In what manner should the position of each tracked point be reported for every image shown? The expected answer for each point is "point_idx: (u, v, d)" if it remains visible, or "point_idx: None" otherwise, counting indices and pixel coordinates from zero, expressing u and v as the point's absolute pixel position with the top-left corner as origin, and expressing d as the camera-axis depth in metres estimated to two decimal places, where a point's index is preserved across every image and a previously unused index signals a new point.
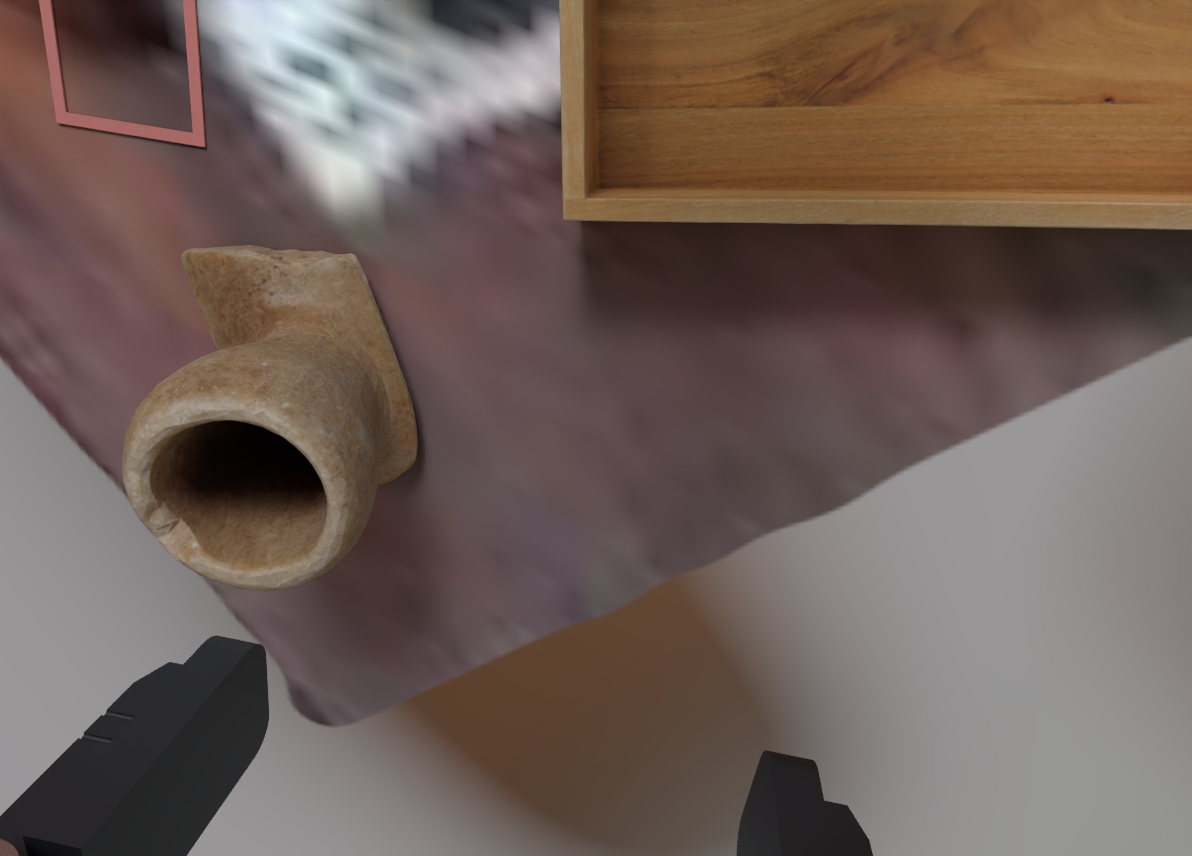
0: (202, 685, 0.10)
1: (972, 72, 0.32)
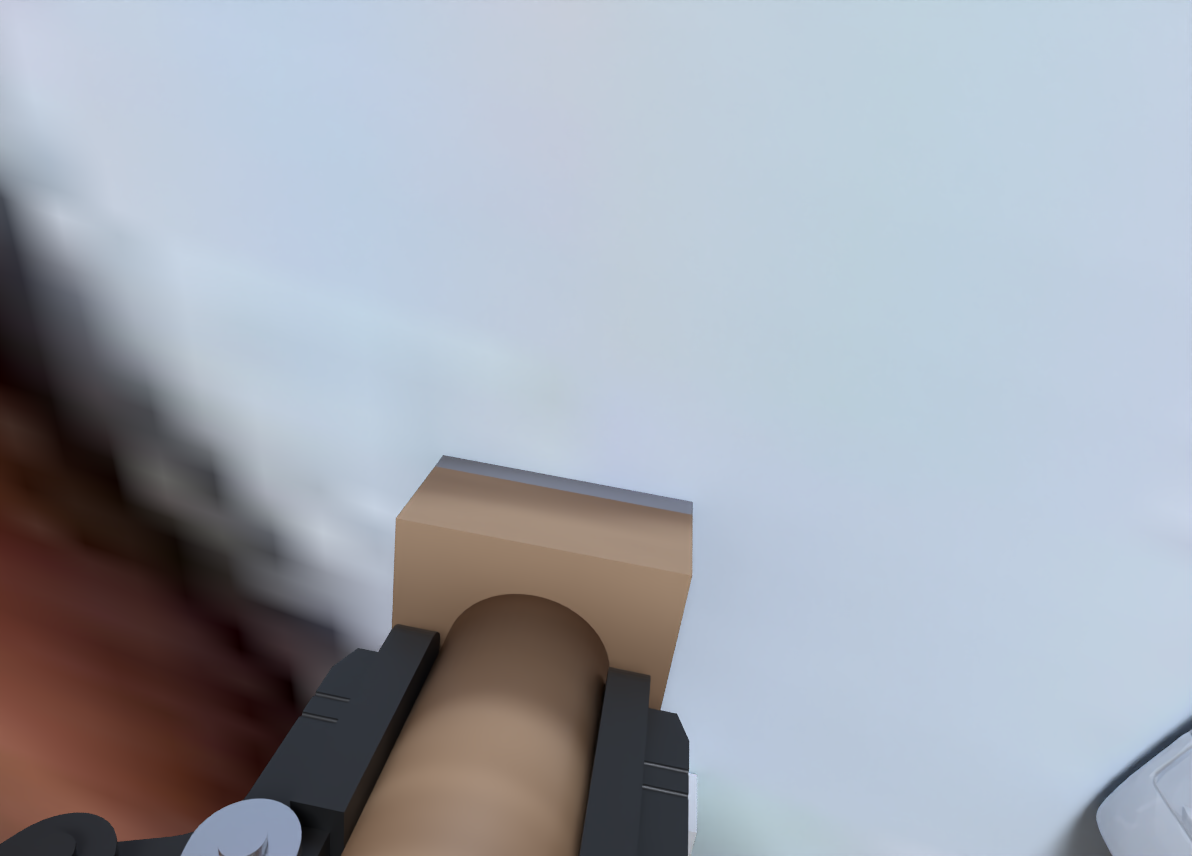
0: (402, 668, 0.11)
1: None
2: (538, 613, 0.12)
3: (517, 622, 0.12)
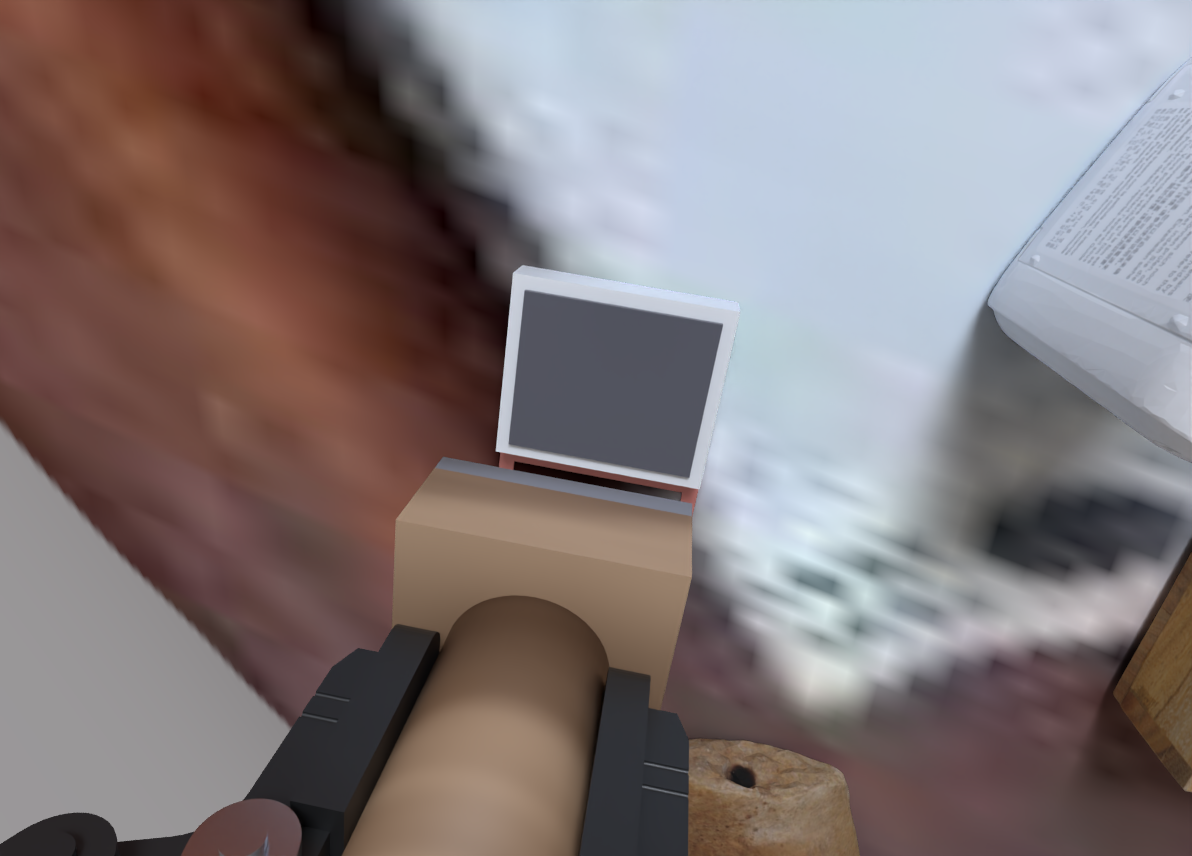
0: (402, 668, 0.11)
1: None
2: (538, 614, 0.12)
3: (517, 623, 0.12)
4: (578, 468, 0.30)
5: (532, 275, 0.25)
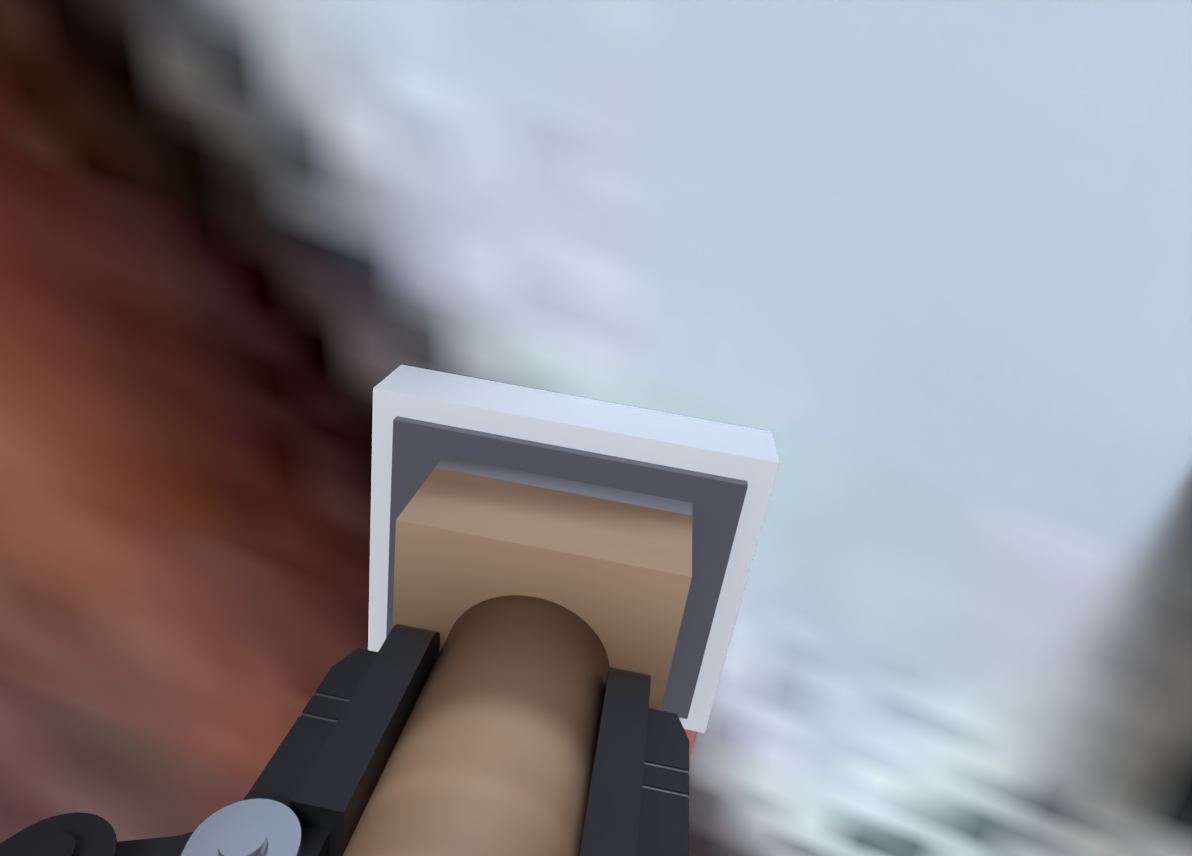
0: (402, 668, 0.11)
1: None
2: (538, 614, 0.12)
3: (517, 624, 0.12)
4: None
5: (408, 392, 0.14)
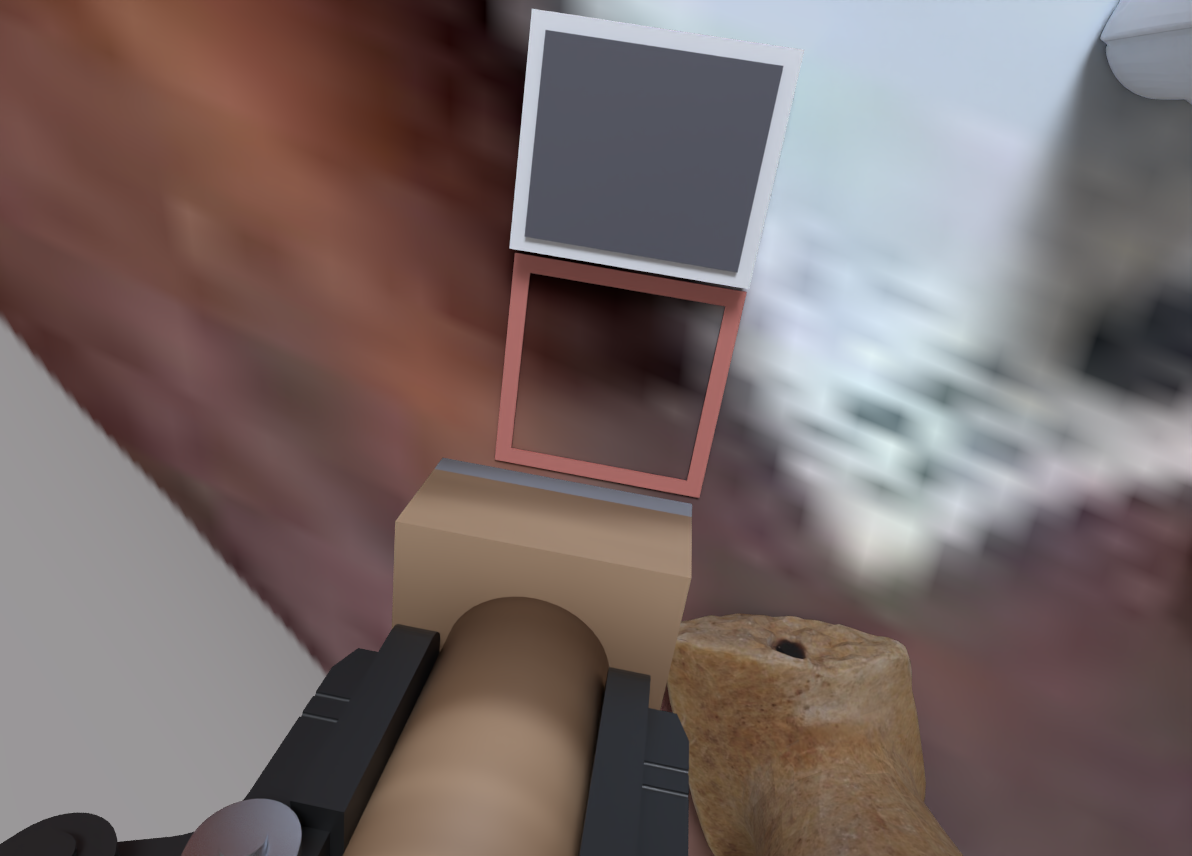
0: (402, 668, 0.11)
1: None
2: (537, 616, 0.12)
3: (516, 625, 0.12)
4: (604, 279, 0.26)
5: (554, 12, 0.21)
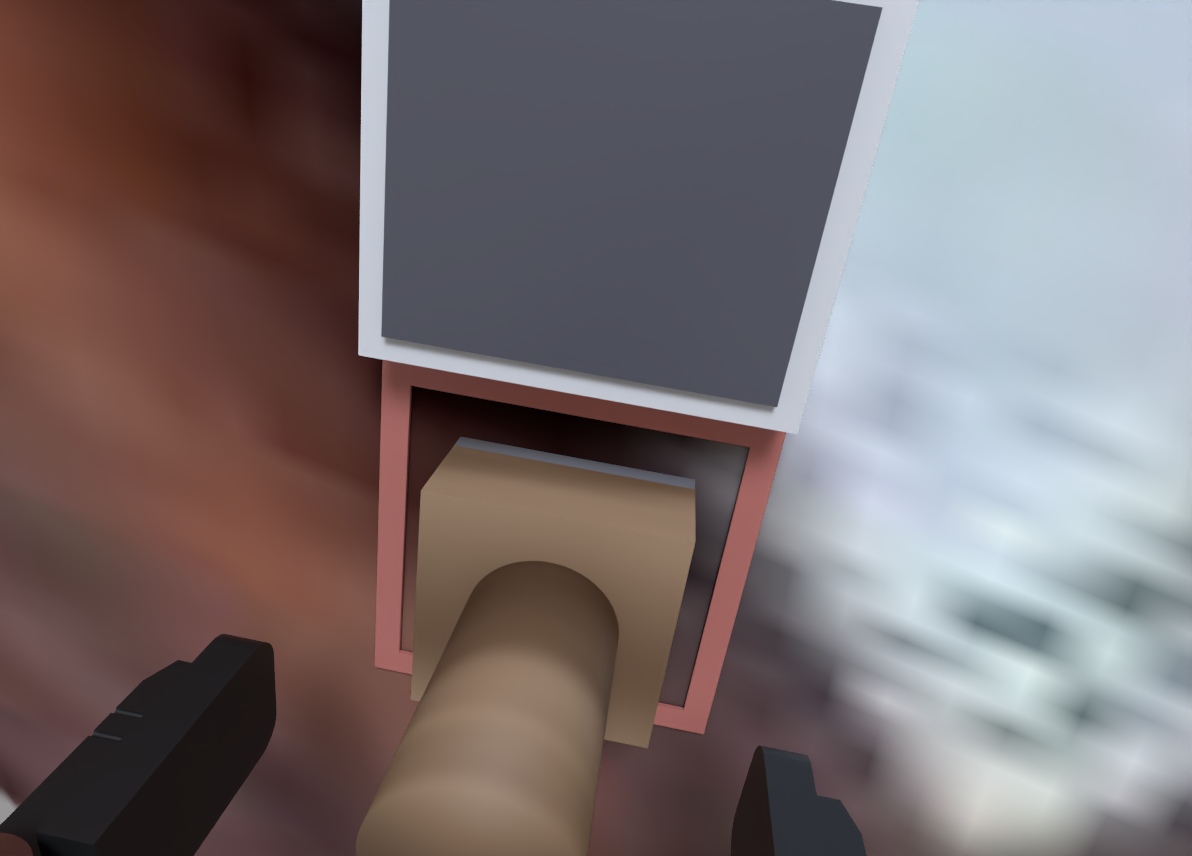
0: (211, 682, 0.10)
1: None
2: (553, 577, 0.13)
3: (534, 585, 0.13)
4: (539, 399, 0.15)
5: None
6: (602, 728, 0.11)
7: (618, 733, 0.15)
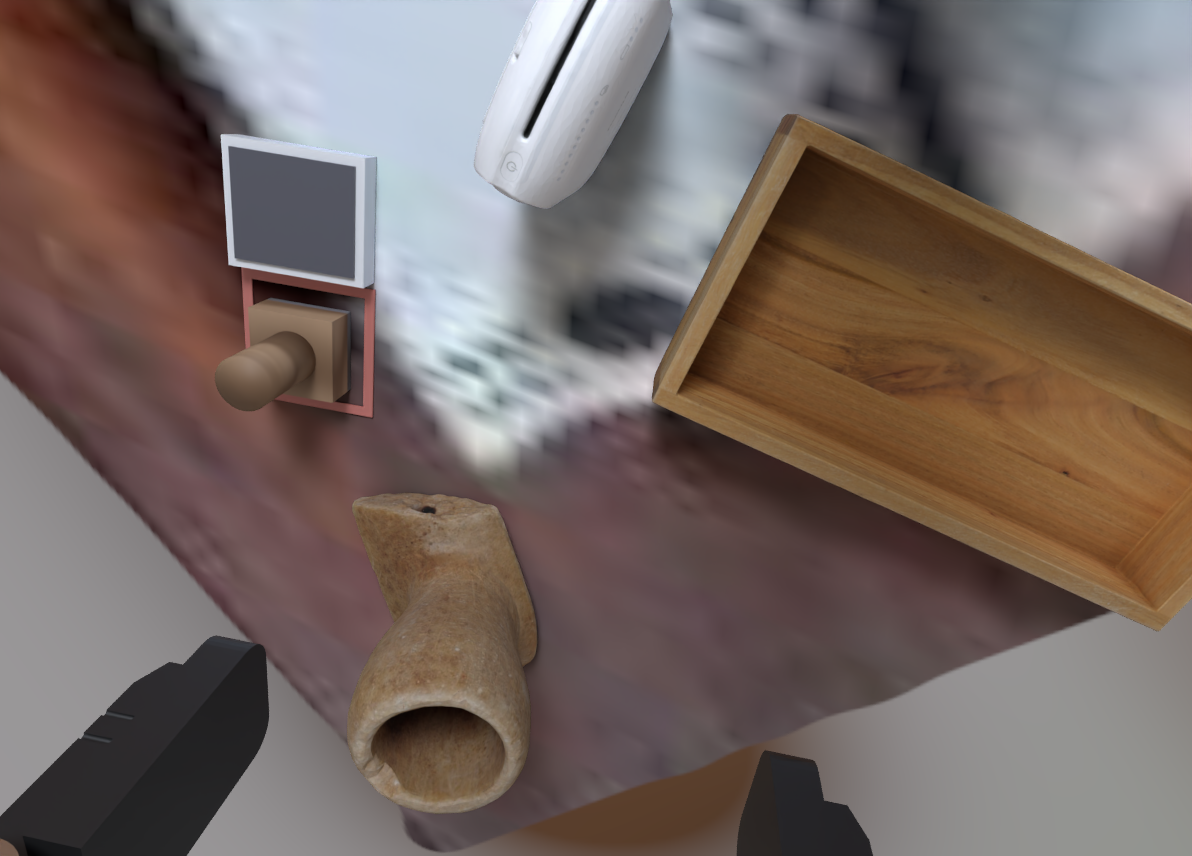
0: (202, 685, 0.10)
1: (987, 414, 0.40)
2: (288, 334, 0.41)
3: (281, 334, 0.41)
4: (294, 282, 0.43)
5: (234, 136, 0.39)
6: (292, 367, 0.40)
7: (322, 397, 0.43)
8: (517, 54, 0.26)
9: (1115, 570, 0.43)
